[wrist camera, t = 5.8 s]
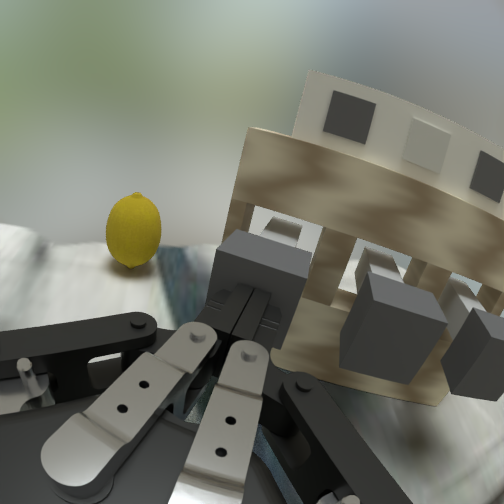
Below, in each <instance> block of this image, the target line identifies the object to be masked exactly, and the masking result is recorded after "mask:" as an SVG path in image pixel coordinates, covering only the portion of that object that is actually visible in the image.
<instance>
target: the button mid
mask: <svg viewBox="0 0 504 504" xmlns="http://www.w3.org/2000/svg"><path fill="white" fill-rule="evenodd" d="M355 279H356V287H357V297H356V299H355V301H354V304H353V306H352V308H351V310H350V312H349V314H348V317H347V319H346V321H345V323H344V325H343V327H342V329H341V331H340V350H339V368H342V369H346V370H349V371H353V372H357V373H360V374H364V375H368V376H372V377H376V378H380V379H384V380H388V381H392V382H397V383H401V384H405V385H409V383H410V382H411V381H412V379H413V378H414V376H415V375H416V374H417V372H418V371H419V369H420V368H421V366H422V365H423V363H424V362H425V360H426V359H427V357H428V356H429V354H430V353H431V351H432V350H433V348H434V347H435V345H436V343H437V342H438V340H439V339H440V337H441V335H442V334H443V332H444V330H445V329H446V327H447V325H448V322H447V320H446V318H445V316H444V314H443V312H442V310H441V308H440V306H439V304H438V302H437V300H436V298H435V296H434V295H433V293H431V292H428V291H425V290H422V289H419V288H416V287H413V286H410V285H407V284H405V283H404V282H403V279H402V277H401V275H400V272H399V270H398V268H397V266H396V263H395V261H394V259H393V257H392V255H389V254H386V253H383V252H380V251H377V250H374V249H371V248H368V247H365V248H364V251H363V253H362V256H361V258H360V261H359V263H358V266H357V268H356V271H355Z"/></svg>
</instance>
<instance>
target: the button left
mask: <svg viewBox="0 0 504 504" xmlns="http://www.w3.org/2000/svg"><path fill="white" fill-rule="evenodd" d="M301 229H302V225H299V224H295V223H293V222H289V221H286V220H283V219H279V218H276V217H272V219H271V220H270V222H269V223H268V224H267V226H266V227H265V229H264V230H263V231H262V233H261V234H260V236H258V235H254V234H251V233H248V232H245V231H242V230H238V229H236V230H235V231H234V232H233V233H232V234H231V235H230V236H229V237H228V238H227V239H226V240H225V241H224V242H223V243H222V244H221V245H220V246H219V247H218V248H217V249H216V253H215V258H214V263H213V268H212V273H211V278H210V283H209V288H208V293H207V298H206V303H205V306H206V305H207V303H208V302H209V300H210V299H211V298H212V296H213V295H214V294H215V293H216V292H218V291H220V290H223V289H225V290H228V291H231V292H233V290H234V289H235V287H236V286H237V284H238V283H242V284H245V285H248V286H251V287H254V288H257V289H260V290H263V291H266V292H269V293H272V294H271V297H270V301H269V305H272V306H275V307H278V308H280V311H281V314H282V318H281V321H280V324H279V327H278V330H277V334H276V337H275V340H274V343H273V346H272V348H275V349H279V350H281V348H282V345H283V342H284V340H285V337H286V335H287V332H288V330H289V327H290V324H291V322H292V319H293V316H294V314H295V311H296V309H297V306H298V303H299V300H300V298H301V295H302V292H303V290H304V287H305V284H306V281H307V278H308V273H309V268H310V262H311V257H312V253H311V252H308V251H304V250H301V249H298V248H296V245H297V241H298V239H299V235H300V232H301ZM254 290H255V289H254Z"/></svg>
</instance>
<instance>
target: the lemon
mask: <svg viewBox="0 0 504 504" xmlns="http://www.w3.org/2000/svg"><path fill="white" fill-rule="evenodd" d="M160 238H161V220H160V215H159V212H158V209H157V208H156V206H155V205H154V204H153V203H152V202H151V201H150V200H149V199H147V198H146V197H143V196H142V194H141V193H139V192H135V193H133V194H132V195H130V196H127V197H124V198H123V199H121V200H120V201H118V202H117V203H116V204H115V205H114V207H113V208H112V210H111V212H110V214H109V217H108V221H107V225H106V241H107V246H108V249H109V251H110V253H111V255H112V256H113V257H114V258H115V259H116V260H117V261H118V262H120V263H121V264H123V265H126V266H127V267H128V268H130V269H132V268H134V267H135V266H139V265H142V264H144V263H146V262H147V261H149V260H150V259H151V258H152V257H153V256H154V254H155V253H156V251H157V248H158V246H159V243H160Z"/></svg>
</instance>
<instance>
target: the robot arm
mask: <svg viewBox="0 0 504 504" xmlns="http://www.w3.org/2000/svg"><path fill="white" fill-rule="evenodd" d="M254 289H255V290H254ZM271 294H272V293H269V292H266V291H263V290H260V289H257V288H254V287H251V286H248V285H245V284H242V283H238V284H237V286H236V287H235V289H234V290H233V292H231V291H228V290H225V289H223V290H220V291H218V292H216V293H215V294H214V295H213V296H212V298H211V299H210V300H209V302H208V303H207V305H206V306H205V307H204V309H203V310H202V311H201V313H200V314H199V315H198V317H197V318H196V319H195V321H194V322H189V323H186V324H184V325H182V326H181V327H180V328H179V329H178V330H167V329H161V328H157V322H156V320H155V319H154V318H153V317H152V316H150V315H148V314H146V313H142V312H130V313H124V314H118V315H112V316H106V317H100V318H93V319H87V320H81V321H74V322H67V323H61V324H54V325H47V326H40V327H32V328H25V329H17V330H10V331H2V332H0V504H287V503H286V501H285V499H284V497H283V495H282V493H281V491H280V489H279V487H278V486H277V484H276V482H275V480H274V478H273V476H272V474H271V472H270V470H269V469H268V467H267V466H266V464H265V463H264V462H263V461H262V460H261V458H259V457H258V456H257V455H256V454H255V453H254V452H252V448H253V444H254V439H255V435H256V430H257V425H258V423H259V424H261V425H262V432H263V434H264V436H265V438H266V440H267V441H268V443H269V445H270V447H271V449H272V450H273V452H274V454H275V456H276V457H277V459H278V461H279V463H280V464H281V466H282V468H283V470H284V471H285V473H286V475H287V477H288V478H289V480H290V482H291V483H292V485H293V487H294V488H295V490H296V492H297V493H298V495H299V497H300V498H301V500H302V502H303V503H304V504H413V503H412V502H411V500H410V499H409V498H408V497H407V495H406V494H405V493H404V492H403V490H402V489H401V488H400V486H399V485H398V484H397V483H396V481H395V480H394V479H393V478H392V476H391V475H390V474H389V472H388V471H387V470H386V469H385V467H384V466H383V465H382V463H381V462H380V461H379V459H378V458H377V457H376V456H375V454H374V453H373V452H372V450H371V449H370V448H369V446H368V445H367V444H366V443H365V441H364V440H363V439H362V437H361V436H360V435H359V433H358V432H357V431H356V429H355V428H354V427H353V425H352V424H351V423H350V421H349V420H348V419H347V417H346V416H345V415H344V413H343V412H342V411H341V409H340V408H339V407H338V405H337V404H336V403H335V401H334V400H333V399H332V397H331V396H330V395H329V393H328V392H327V391H326V389H325V388H324V387H323V385H322V384H321V383H320V381H319V380H318V379H317V378H316V377H314V376H313V375H311V374H309V373H306V372H300V371H296V372H291V373H289V374H288V375H287V374H286V373H284V372H282V371H281V370H279V369H278V368H277V367H276V366H275V365H274V364H273V362H272V360H271V357H270V353H271V349H272V346H273V343H274V340H275V337H276V334H277V330H278V327H279V324H280V321H281V318H282V314H281V311H280V308H278V307H275V306H272V305H269V301H270V297H271ZM120 352H121V357H118V358H113V359H108V360H103V361H98V362H93V363H88V362H89V361H90V360H91V359H92V358H95V357H100V356H105V355H110V354H115V353H120ZM221 371H222V372H221ZM220 373H221V375H220ZM219 375H220V377H219ZM211 376H215V377H219V380H218V383H216V384H215V387H214V389H213V392H212V395H211V397H210V400H209V402H208V405H207V408H206V410H205V413H204V416H203V418H202V421H201V423H200V424H195V423H189V422H185V419H186V418H187V416H188V415H189V413H190V412H191V410H192V409H193V407H194V406H195V404H196V403H197V401H198V400H199V398H200V397H201V395H202V394H203V392H204V391H205V389H206V385H207V383H208V382H209V380H210V378H211Z"/></svg>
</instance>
